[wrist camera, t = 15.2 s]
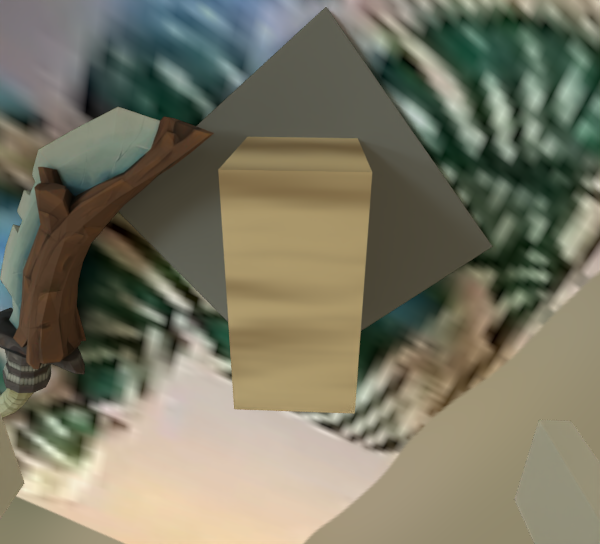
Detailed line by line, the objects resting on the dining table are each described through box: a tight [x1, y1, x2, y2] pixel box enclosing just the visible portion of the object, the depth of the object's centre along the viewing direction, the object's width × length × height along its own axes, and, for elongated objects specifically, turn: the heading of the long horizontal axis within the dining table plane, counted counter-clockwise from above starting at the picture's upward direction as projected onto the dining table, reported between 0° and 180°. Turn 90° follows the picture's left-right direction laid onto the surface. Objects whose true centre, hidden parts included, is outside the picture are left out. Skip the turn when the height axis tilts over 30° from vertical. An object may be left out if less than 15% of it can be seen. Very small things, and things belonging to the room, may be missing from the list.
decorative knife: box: [0, 107, 214, 417], centre depth 29 cm, size 4×9×30 cm
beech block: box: [218, 137, 372, 413], centre depth 24 cm, size 8×6×12 cm
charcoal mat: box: [118, 7, 492, 331], centre depth 28 cm, size 16×16×1 cm
